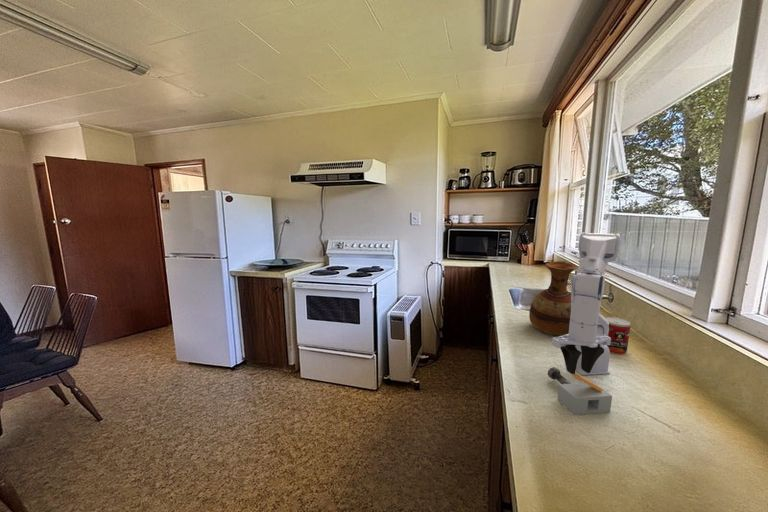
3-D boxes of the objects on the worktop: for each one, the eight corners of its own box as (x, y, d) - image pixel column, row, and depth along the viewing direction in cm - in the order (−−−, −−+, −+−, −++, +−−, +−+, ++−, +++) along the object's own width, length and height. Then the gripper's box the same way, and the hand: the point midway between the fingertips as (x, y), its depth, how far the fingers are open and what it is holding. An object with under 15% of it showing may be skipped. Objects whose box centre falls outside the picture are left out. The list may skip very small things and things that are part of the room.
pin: (547, 378, 88) (548, 367, 88) (557, 377, 89) (558, 367, 88) (574, 401, 78) (575, 389, 77) (586, 400, 78) (587, 388, 78)
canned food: (604, 352, 106) (608, 323, 104) (598, 343, 113) (601, 316, 112) (630, 356, 103) (634, 326, 102) (622, 346, 111) (626, 318, 109)
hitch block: (591, 397, 80) (593, 382, 80) (610, 412, 75) (612, 395, 74) (557, 399, 79) (558, 384, 79) (573, 415, 74) (575, 398, 73)
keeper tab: (593, 386, 78) (594, 383, 78) (601, 391, 75) (602, 389, 75) (569, 373, 77) (571, 370, 76) (577, 378, 74) (578, 376, 74)
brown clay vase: (524, 332, 123) (530, 262, 119) (532, 318, 140) (537, 256, 135) (580, 344, 112) (588, 267, 108) (581, 327, 129) (588, 260, 124)
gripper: (568, 328, 68) (562, 382, 70) (624, 326, 70) (617, 378, 72) (548, 317, 75) (544, 366, 77) (599, 315, 77) (594, 363, 79)
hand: (578, 371), depth 75 cm, fingers open, 4 cm apart
